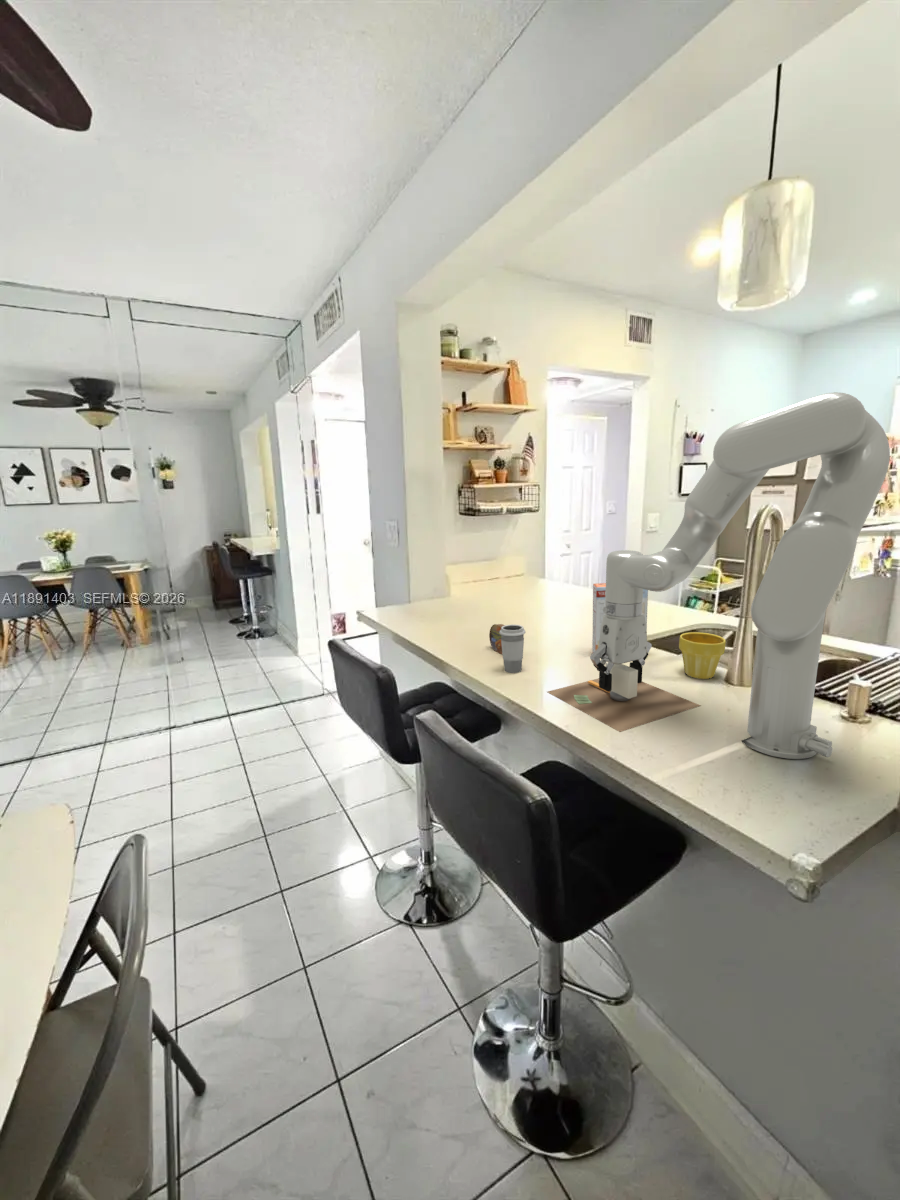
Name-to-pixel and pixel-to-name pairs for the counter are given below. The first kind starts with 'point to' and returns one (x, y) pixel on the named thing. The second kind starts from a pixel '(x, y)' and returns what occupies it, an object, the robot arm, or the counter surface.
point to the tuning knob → (622, 682)
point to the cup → (512, 647)
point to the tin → (496, 637)
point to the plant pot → (701, 653)
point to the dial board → (623, 704)
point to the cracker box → (598, 613)
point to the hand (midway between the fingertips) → (620, 684)
